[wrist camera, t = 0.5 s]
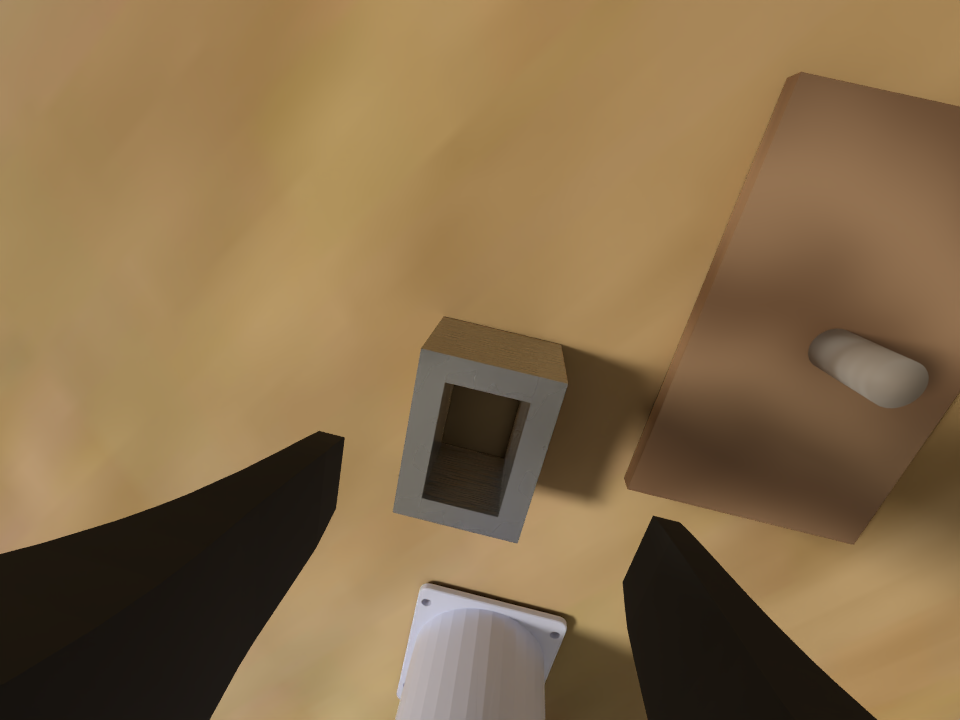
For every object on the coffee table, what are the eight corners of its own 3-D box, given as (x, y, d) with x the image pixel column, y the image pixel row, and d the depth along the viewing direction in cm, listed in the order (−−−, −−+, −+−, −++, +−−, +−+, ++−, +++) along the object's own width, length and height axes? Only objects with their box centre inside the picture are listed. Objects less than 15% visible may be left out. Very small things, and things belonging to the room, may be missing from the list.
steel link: (520, 480, 21) (517, 543, 17) (417, 455, 21) (392, 511, 17) (560, 344, 18) (568, 383, 15) (443, 316, 18) (421, 348, 15)
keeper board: (841, 531, 20) (912, 609, 16) (623, 478, 20) (644, 542, 17) (1099, 146, 14) (1303, 131, 10) (787, 78, 14) (876, 39, 11)
